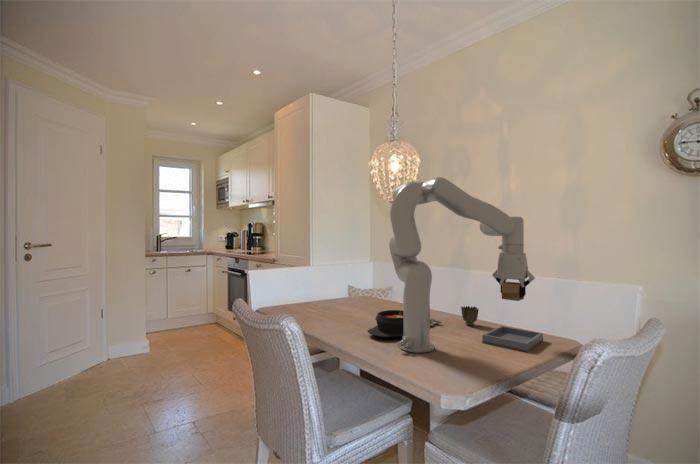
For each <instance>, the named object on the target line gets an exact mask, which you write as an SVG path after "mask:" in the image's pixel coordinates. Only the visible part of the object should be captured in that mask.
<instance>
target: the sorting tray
mask: <svg viewBox="0 0 700 464" xmlns="http://www.w3.org/2000/svg"><path fill="white" fill-rule="evenodd" d="M543 341H544V333H543V332H537V331H533V330H526V329H523V328H522V329H521V328H516V327H509V326H505V325H500V326H497V327H495V328H494V329H492V330H489V331H487V332H485V333H483V334H482V341H481V342H482V344H486V345H492V346H497V347H500V348H505V349H510V350H514V351H519V352H523V353H529V352H530V351H531V350H533V349H534V348H535V347H538V345H539V344H541V343H542V342H543Z"/></svg>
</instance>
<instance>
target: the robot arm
mask: <svg viewBox="0 0 700 464" xmlns="http://www.w3.org/2000/svg"><path fill="white" fill-rule="evenodd" d="M432 202H437V203H439V204H440V205H442V206H443V207H445V208H446V209H448V210H449V211H451V212H452V213H454V214H455V215H457V216H459V217H462V218H464V219H465V218H466V219H470V220H474V221H476V222H479V230H480V232H481V233H482V234H483V235H486V236H489V237H501V244H500V245H498V249H499V250H501V252H499V254H498V261H497V269H496V270H495V271H494V272H493V273H492V277H493V278H494V279H495V280H496V282H497V283H498V284H499V286H500V293H501V294H502V283H504V282H507V280H516V281H518V283H520V285H521V287H520V298H523V297H524V298H525V296H526V287H527V286H528V285H529V284H530V283H532V281H534V280H536V277H535V276H534V275H533V274H532V272H530V271H529V266H528V259H527V253H526V252H524V249H525V246H524V245H525V244H524V240H525V239H524V236H525V235H524V231H525V230H524V229H525V228H524V225H525V224H524V222H525V221H524V218H523V217H522V216H510V215H508V214H507V213H505V212H504V211H503V210H501V209H500V208H498V207H496V206H495V205H492V204H490V203H488V202H486V201H483V200H481V199H479V198H476V197H474V196H473V195H471V194H469V193H467V192H466V191H465V190H463V189H462V188H460V187H458V185H456V184H454V183H453V182H452V181H450V180H449V179H447V178H444V177H442V176H437V177H434V178H431V179H428V180H425V181H421V182H416V181H409V182H406V183H403V184H401V185H398V186H397V187H396V188H395V189H394V190H393V193H392V203H391V207H390V212H389V218H390V222H391V228H392V232H393V235H392V236H391V238H390V240H389V251H390V256H391V260H392V264H393V267H394V270H395V273H396V277H397V278H398V279H399V280H400V281H401V282H403V283H404V288H403V296H402V297H403V298H402V306H403V307H402V308H403V310H402V311H403V336H402V337H401V340H399V341H397V342H396V346H397V348H400V349H401V350H403V351H405V352H408V353H416V354H417V353H418V354H420V353H421V354H422V353H429V352H431V351H434V349H435V345H434V344H435V343H433V342H431V341H430V340H431V327H430V318H431V312H430V311H431V310H430V309H431V305H430V304H431V303H430V302H431V301H430V300H431V287H432V280H433V274H432V270H431V268H430V266H429V265H428V264H427V263H425V262H424V261H421V260H419V259H417V256H418V255H419V254H420V253H421V251H422V242H421V238H420V236H419V231H418V228H417V224H416V223H417V222H416V219H415V211H416V208H417V206H418V205H419V206H420V205H423V204H427V203H428V204H429V203H432Z"/></svg>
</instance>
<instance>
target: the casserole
mask: <svg viewBox="0 0 700 464" xmlns="http://www.w3.org/2000/svg"><path fill="white" fill-rule="evenodd" d="M374 320H375V322H376V324H377V325H375V326H373V327H372V328H369V329H368V330H367V333H368V334H369V335H372V336H375V337H379V338H395V339H397V338H398V339H400V338H401V339H402V336H403V310H400V309H394V310H393V309H391V310H382V311H379V312H378V313H377V315H376V316H375V317H374Z"/></svg>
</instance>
